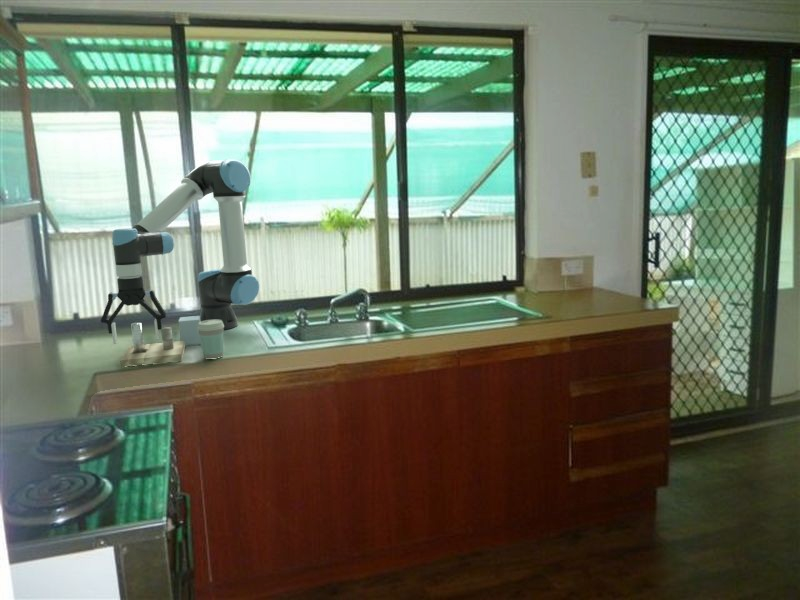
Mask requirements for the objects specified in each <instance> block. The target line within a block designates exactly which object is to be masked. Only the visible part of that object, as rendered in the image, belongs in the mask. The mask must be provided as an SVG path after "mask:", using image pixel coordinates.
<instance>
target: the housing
mask: <svg viewBox="0 0 800 600" xmlns="http://www.w3.org/2000/svg"><path fill="white" fill-rule="evenodd" d="M199 322H201V320H200V315H192V316H181V317H179V318H178V327H179V337H180V340H179V341H184V342H185V347H186V346H195V345H202V344H201V340H200V335H199V331H198V330H197V327H198V323H199Z"/></svg>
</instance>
